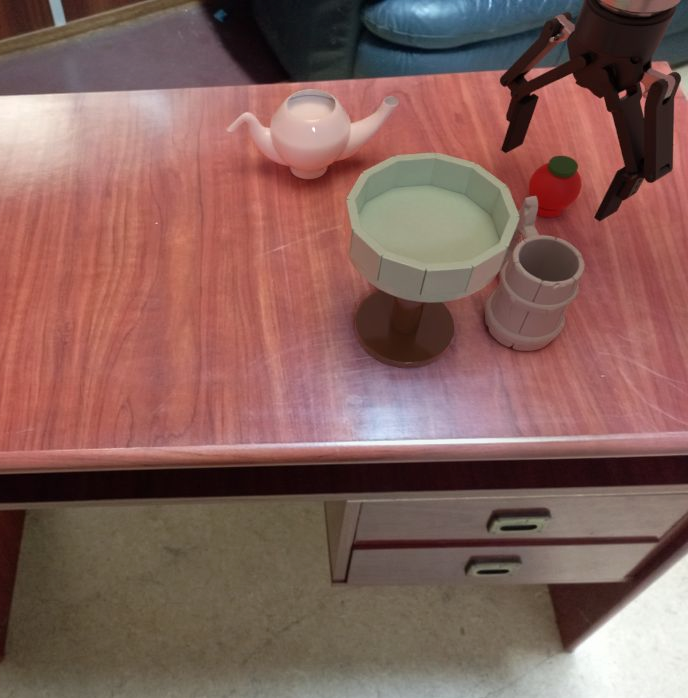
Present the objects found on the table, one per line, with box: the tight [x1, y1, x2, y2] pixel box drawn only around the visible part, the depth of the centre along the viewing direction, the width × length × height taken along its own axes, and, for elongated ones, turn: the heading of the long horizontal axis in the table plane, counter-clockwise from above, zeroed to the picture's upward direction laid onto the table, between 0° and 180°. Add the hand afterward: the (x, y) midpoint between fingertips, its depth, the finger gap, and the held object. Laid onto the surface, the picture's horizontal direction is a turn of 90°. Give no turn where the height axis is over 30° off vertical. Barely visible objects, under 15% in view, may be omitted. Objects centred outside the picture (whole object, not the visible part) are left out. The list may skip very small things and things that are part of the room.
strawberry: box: [528, 155, 582, 218], centre depth 81 cm, size 5×5×6 cm
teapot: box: [225, 88, 400, 180], centre depth 87 cm, size 10×20×9 cm, turn 90°
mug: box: [484, 196, 586, 352], centre depth 71 cm, size 8×12×12 cm, turn 7°
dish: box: [342, 151, 520, 369], centre depth 68 cm, size 14×14×17 cm
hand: (556, 179), depth 81 cm, fingers open, 13 cm apart
